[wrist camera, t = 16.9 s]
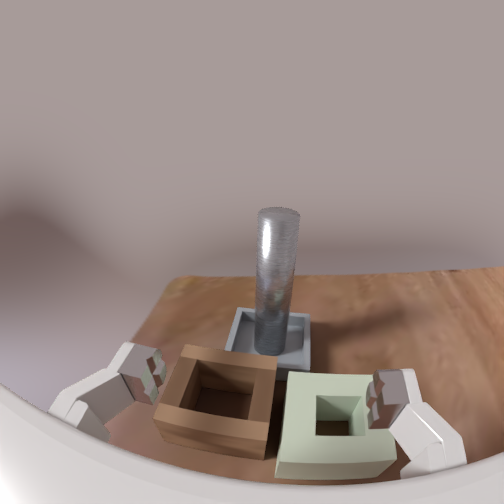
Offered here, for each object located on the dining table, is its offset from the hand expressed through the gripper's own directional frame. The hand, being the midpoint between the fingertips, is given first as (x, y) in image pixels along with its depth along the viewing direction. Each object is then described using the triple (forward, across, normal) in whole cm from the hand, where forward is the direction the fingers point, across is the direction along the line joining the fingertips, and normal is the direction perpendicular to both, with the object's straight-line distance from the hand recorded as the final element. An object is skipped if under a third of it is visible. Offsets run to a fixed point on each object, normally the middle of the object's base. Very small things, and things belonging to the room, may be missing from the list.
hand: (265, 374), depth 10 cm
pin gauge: (+14, +1, +13) cm, 19 cm away
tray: (+14, +1, +14) cm, 20 cm away
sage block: (+4, -5, +14) cm, 15 cm away
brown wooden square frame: (+6, +4, +14) cm, 15 cm away
